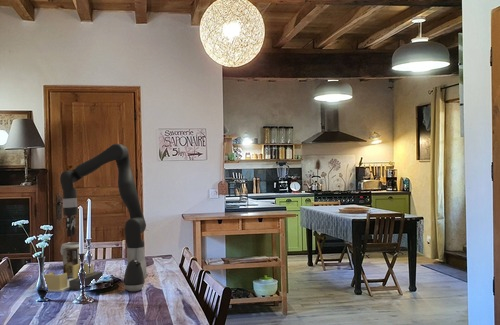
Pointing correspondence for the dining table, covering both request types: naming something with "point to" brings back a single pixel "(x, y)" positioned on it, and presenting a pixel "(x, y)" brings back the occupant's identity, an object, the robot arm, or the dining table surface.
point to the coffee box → (70, 260)
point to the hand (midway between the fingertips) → (71, 235)
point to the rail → (75, 283)
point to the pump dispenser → (134, 276)
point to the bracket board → (63, 278)
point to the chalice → (66, 245)
